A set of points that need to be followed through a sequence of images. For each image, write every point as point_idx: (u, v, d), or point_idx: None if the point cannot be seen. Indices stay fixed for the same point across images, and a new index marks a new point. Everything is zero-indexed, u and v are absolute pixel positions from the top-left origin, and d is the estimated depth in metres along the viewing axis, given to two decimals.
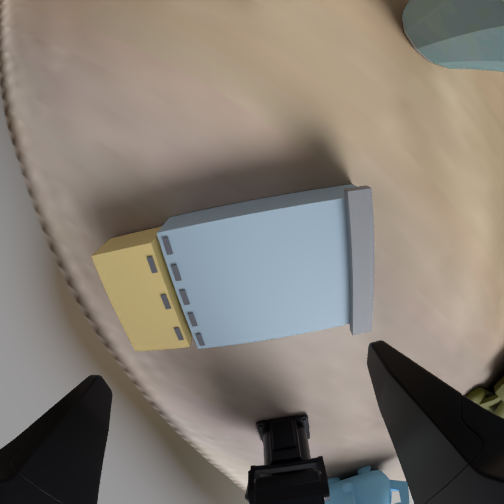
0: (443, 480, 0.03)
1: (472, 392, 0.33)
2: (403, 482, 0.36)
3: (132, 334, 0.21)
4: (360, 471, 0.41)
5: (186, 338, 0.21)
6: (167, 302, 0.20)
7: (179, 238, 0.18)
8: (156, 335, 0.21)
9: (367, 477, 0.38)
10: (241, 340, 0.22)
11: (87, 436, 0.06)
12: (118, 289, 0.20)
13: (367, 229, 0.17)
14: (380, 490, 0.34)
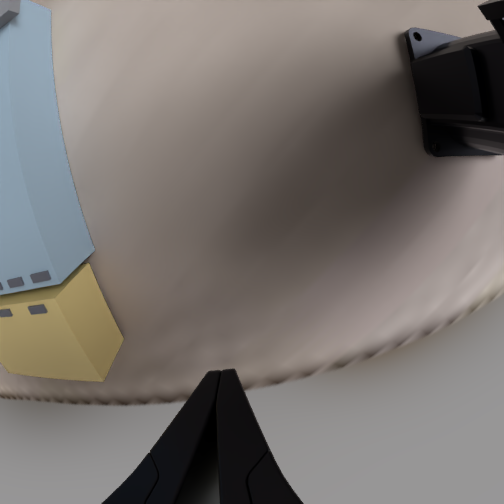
0: None
1: None
2: None
3: (72, 373, 0.12)
4: None
5: (43, 299, 0.10)
6: (3, 311, 0.10)
7: None
8: (56, 342, 0.11)
9: None
10: (25, 202, 0.09)
11: None
12: (21, 361, 0.12)
13: None
14: None
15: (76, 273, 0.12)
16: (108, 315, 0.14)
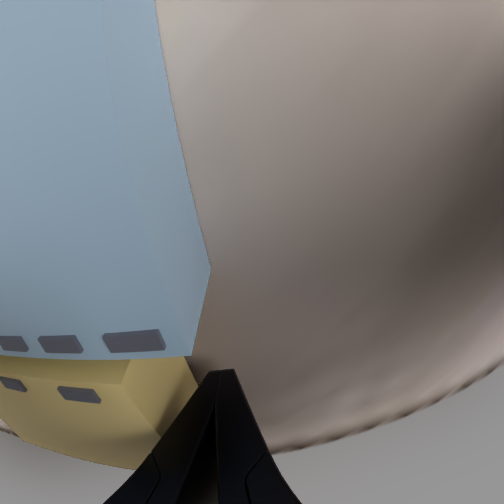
0: None
1: None
2: None
3: (139, 465, 0.07)
4: None
5: (92, 380, 0.05)
6: (9, 382, 0.05)
7: None
8: (115, 436, 0.06)
9: None
10: (106, 159, 0.04)
11: None
12: (45, 438, 0.07)
13: None
14: None
15: None
16: (188, 374, 0.09)
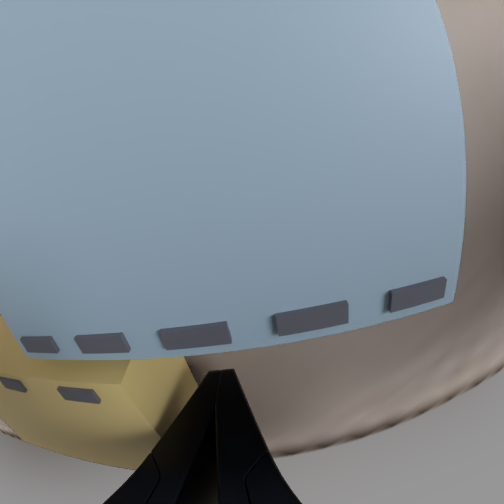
0: None
1: None
2: None
3: (139, 465, 0.07)
4: None
5: (92, 381, 0.05)
6: (9, 382, 0.05)
7: (13, 310, 0.05)
8: (115, 436, 0.06)
9: None
10: (450, 109, 0.03)
11: None
12: (45, 439, 0.07)
13: None
14: None
15: None
16: (187, 374, 0.09)
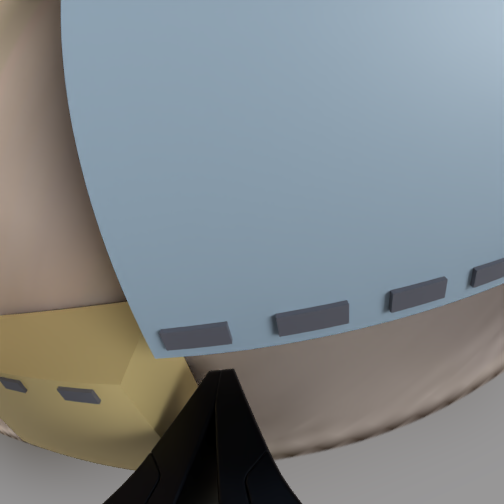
0: None
1: None
2: None
3: (139, 465, 0.07)
4: None
5: (91, 381, 0.05)
6: (9, 383, 0.05)
7: (161, 292, 0.04)
8: (116, 436, 0.06)
9: None
10: None
11: None
12: (45, 439, 0.07)
13: None
14: None
15: None
16: (187, 374, 0.09)
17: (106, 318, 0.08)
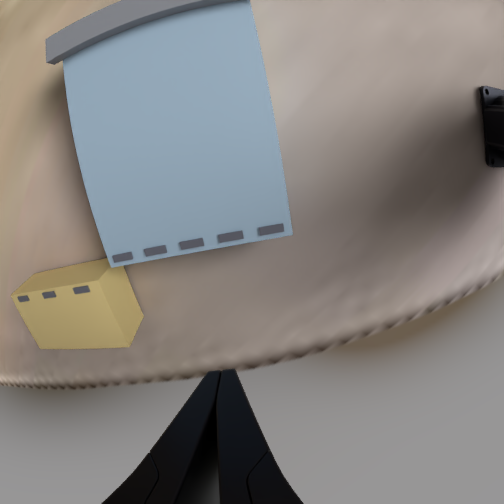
0: None
1: None
2: None
3: (103, 341, 0.17)
4: None
5: (87, 281, 0.15)
6: (48, 293, 0.15)
7: (112, 242, 0.14)
8: (94, 316, 0.16)
9: None
10: (275, 163, 0.13)
11: None
12: (56, 336, 0.17)
13: (86, 23, 0.09)
14: None
15: None
16: (133, 296, 0.19)
17: (96, 264, 0.17)
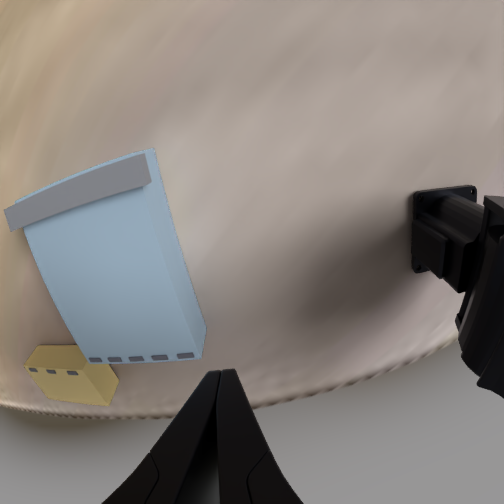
0: None
1: None
2: None
3: (91, 401, 0.22)
4: None
5: (75, 369, 0.20)
6: (50, 371, 0.20)
7: (87, 351, 0.19)
8: (83, 387, 0.21)
9: None
10: (180, 318, 0.18)
11: None
12: (59, 394, 0.22)
13: (27, 205, 0.14)
14: None
15: None
16: (109, 369, 0.24)
17: None
